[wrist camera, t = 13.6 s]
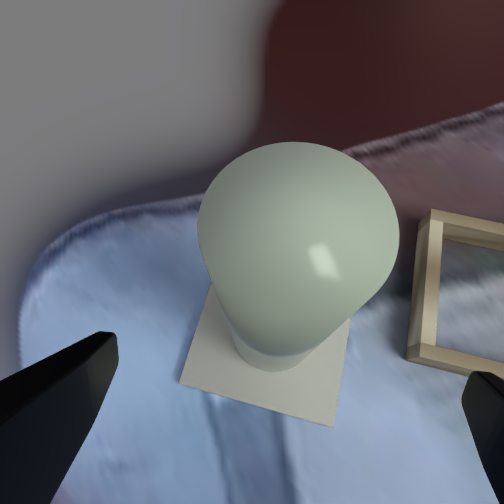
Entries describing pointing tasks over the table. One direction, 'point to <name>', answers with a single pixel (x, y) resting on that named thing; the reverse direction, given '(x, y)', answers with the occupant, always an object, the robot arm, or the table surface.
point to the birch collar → (427, 289)
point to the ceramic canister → (294, 247)
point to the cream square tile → (262, 382)
